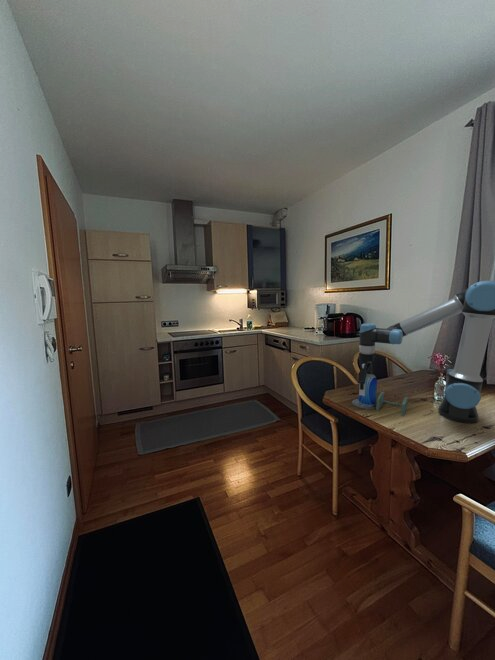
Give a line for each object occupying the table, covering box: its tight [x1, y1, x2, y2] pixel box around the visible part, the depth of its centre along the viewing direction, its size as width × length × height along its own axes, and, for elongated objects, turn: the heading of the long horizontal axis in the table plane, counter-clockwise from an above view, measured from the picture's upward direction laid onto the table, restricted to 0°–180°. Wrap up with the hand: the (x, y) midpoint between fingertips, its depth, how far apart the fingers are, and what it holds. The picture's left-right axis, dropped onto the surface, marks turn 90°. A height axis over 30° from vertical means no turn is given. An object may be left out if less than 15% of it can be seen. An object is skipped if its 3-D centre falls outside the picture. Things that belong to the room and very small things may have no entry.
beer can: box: [358, 374, 378, 407], centre depth 139 cm, size 8×8×16 cm
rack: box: [375, 391, 409, 417], centre depth 135 cm, size 12×13×6 cm
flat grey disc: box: [351, 398, 377, 410], centre depth 141 cm, size 12×12×1 cm
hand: (365, 391), depth 140 cm, fingers open, 13 cm apart
